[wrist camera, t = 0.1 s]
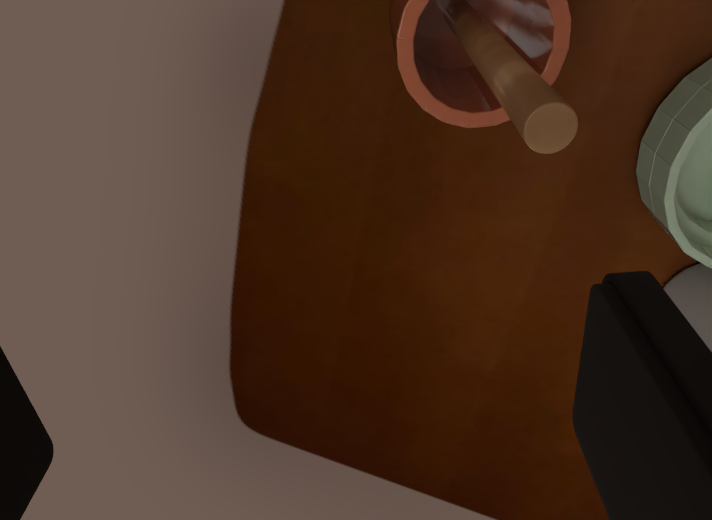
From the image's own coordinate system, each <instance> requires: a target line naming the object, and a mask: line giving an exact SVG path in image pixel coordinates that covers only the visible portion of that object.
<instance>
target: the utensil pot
mask: <svg viewBox="0 0 712 520" xmlns="http://www.w3.org/2000/svg"><path fill="white" fill-rule="evenodd" d="M451 1H452V0H391V1H390V9H389V14H390V30H391V35H392V40H393V45H394V50H395V55H396V59H397V64H398V68H399V71H400V74H401V76H402V79H403V81H404V84H405V87H406V89H407V90H408V92H409V94H410V95H411V96H412V97H413V98H414V100H415V101H416V102H417V103H418V104H419V106H420V107H421V108H422V109H423V110H424V111H426V112H427V113H429V114H431V115H432V116H434V117H436V118H437V119H439V120H441V121H442V122H445V123H447V124H452V125H456V126H461V127H465V128H468V127H469V128H475V127H487V126H493V125H494V126H496V125H498V124H501V123H503V122H506V121H508V120H511V119H510V118H509V116H508V115H507V113H506V112H505V110H504V109H503V107H502V106H501V104H500V103H499V101H498V100H497V98H496V97H495V95H494V94H493V92H492V91H491V89H490V87H489V86H488V84H487V83H486V81H485V80H484V78H483V77H482V75H481V74H480V72H479V71H478V69H477V68H476V66H475V65H474V63H473V62H472V60H471V59H470V57H469V56H468V54H467V53H466V51H465V49H464V48H463V46H462V45H461V43H460V42H459V40H458V39H457V37H456V36H455V34H454V33H453V31H452V30H451V28H450V27H449V25H448V24H447V22H446V20H445V17H444V12H445V8H446V6H447V5H448V3H449V2H451ZM466 1H467V2H468V3H469V4H470V5H471V6H472V7H473V8H474V9H475V10H476V11H477V12H478V13H479V14H480V15H481V16H482V17H483V18H484V19H485V20H486V21H487V22H488V23H489V24H490V25H491V26H492V27H493V28H494V29H495V30H496V31H497V32H498V33H499V34H500V35H501V36H502V37H503V38H504V39H505V40H506V41H507V42H508V43H509V44H510V45H511V46H512V48H513V49H514V50H515V51H516V52H517V53H518V54H519V55H520V56H521V57H522V58H523V59H524V60H525V61H526V62H527V63H528V64H529V65H530V66H531V67H532V68H533V69H534V70H535V71H536V72H537V73H538V74H539V75H540V76H541V77H542V78H543V79H544V80H545V81H546V82H547V83H548V84H549V85H550V86H551V85H552V84H553V83H554V81H555V80H556V79H557V76H558V75H559V73H560V71H561V68H562V66H563V63H564V61H565V58H566V56H567V53H568V50H569V44H570V34H571V21H572V20H571V15H570V11H569V6H568V2H567V0H466Z"/></svg>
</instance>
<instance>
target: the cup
mask: <svg viewBox="0 0 712 520" xmlns="http://www.w3.org/2000/svg"><path fill="white" fill-rule="evenodd" d="M663 289H664V290H665V292H666V293H667V294H668V296H669V297H670V298H671V299H672V301H673V302H674V303H675V305H676V306H677V307H678V309H679V310H680V311H681V313H682V314H683V315H684V316H685V318H686V319H687V320H688V322H689V323H690V324H691V326H692V327H693V328H694V330H695V331H696V332H697V334H698V335H699V336H700V337H701V339H702V340H703V341H704V343H705V344H706V345H707V347H708V348H709V349H710V351H711V352H712V268H709V267H707V266H705V265H703V264H702V263H699V264H696V265H693V266H691V267H688V268H686V269H684V270H683V271H681V272H679V273H678V274H676V275H675V276H674V277H673V278H672V279H671V280H670V281H668V282H667V283H666V285H665V286H664V288H663Z"/></svg>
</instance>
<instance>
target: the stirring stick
mask: <svg viewBox="0 0 712 520" xmlns="http://www.w3.org/2000/svg"><path fill="white" fill-rule="evenodd" d="M444 17H445V20H446V22H447V24H448V25H449V27H450V28H451V30H452V31H453V33H454V34H455V36H456V37H457V39H458V40H459V42H460V43H461V45H462V46H463V48H464V49H465V51H466V53H467V54H468V56H469V57H470V59H471V60H472V62H473V63H474V65H475V66H476V68H477V69H478V71H479V72H480V74H481V75H482V77H483V78H484V80H485V81H486V83H487V84H488V86H489V87H490V89H491V91H492V92H493V94H494V95H495V97H496V98H497V100H498V101H499V103H500V104H501V106H502V107H503V109H504V110H505V112H506V113H507V115H508V116H509V118H510V119H511V121H512V122H513V124H514V126H515V127H516V129H517V130H518V132H519V133H520V135H521V136H522V138H523V139H524V141H525V142H526V144H527V145H528V146H529V147H530V148H531V149H532V150H534V151H535V152H538V153H542V154H550V153H555V152H558V151H560V150H562V149H563V148H565V147H566V146H567V145H568V144H569V143H570V142H571V141H572V140H573V138H574V137H575V134H576V132H577V128H578V119H577V115H576V113H575V111H574V110H573V109H572V108H571V107H570V106H569V105H568V104H567V103H566V102H565V101H564V100H563V99H562V98H561V96H560V95H559V94H558V93H557V92H556V91H555V90H554V89H553V88H552V87H551V86H550V85H549V84H548V83H547V82H546V81H545V80H544V79H543V78H542V77H541V76H540V75H539V74H538V73H537V72H536V71H535V70H534V69H533V68H532V67H531V66H530V65H529V64H528V63H527V62H526V61H525V60H524V59H523V58H522V57H521V56H520V55H519V54H518V53H517V52H516V51H515V50H514V49H513V48H512V46H511V45H510V44H509V43H508V42H507V41H506V40H505V39H504V38H503V37H502V36H501V35H500V34H499V33H498V32H497V31H496V30H495V29H494V28H493V27H492V26H491V25H490V24H489V23H488V22H487V21H486V20H485V19H484V18H483V17H482V16H481V15H480V14H479V13H478V12H477V11H476V10H475V9H474V8H473V7H472V6H471V5H470V4H469V3H468V2H467V1H466V0H452V1H451V2H449V3H448V5H447V6H446V8H445V12H444Z"/></svg>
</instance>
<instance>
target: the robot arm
mask: <svg viewBox="0 0 712 520" xmlns="http://www.w3.org/2000/svg"><path fill="white" fill-rule="evenodd" d="M573 424H574V429H575V433H576V436H577V439H578V441H579V444H580V446H581V449H582V451H583V454H584V456H585V459H586V461H587V464H588V466H589V469H590V471H591V474H592V477H593V479H594V482H595V484H596V487H597V489H598V492H599V494H600V497H601V499H602V502H603V504H604V507H605V509H606V512H607V514H608V517H609V520H712V352H711V351H710V349H709V348H708V347H707V345H706V344H705V343H704V341H703V340H702V339H701V337H700V336H699V335H698V334H697V332H696V331H695V330H694V328H693V327H692V326H691V324H690V323H689V322H688V320H687V319H686V318H685V316H684V315H683V314H682V313H681V311H680V310H679V309H678V307H677V306H676V305H675V303H674V302H673V301H672V299H671V298H670V297H669V296H668V294H667V293H666V292H665V290H664V289H663V288H662V286H661V285H660V284H659V282H658V281H657V280H656V278H655V277H654V276H653V275H652V274H651V273H650V272H647V271H638V272H624V273H610V274H607V275H605V277H604V279H603V282H602V284H595V285H593V286H592V288H591V291H590V296H589V303H588V310H587V317H586V324H585V331H584V337H583V344H582V351H581V358H580V365H579V372H578V378H577V385H576V392H575V399H574V406H573ZM52 458H53V444H52V441H51V439H50V437H49V435H48V433H47V431H46V430H45V428H44V426H43V424H42V422H41V420H40V418H39V417H38V415H37V413H36V411H35V409H34V407H33V406H32V404H31V402H30V400H29V398H28V396H27V395H26V393H25V391H24V389H23V387H22V386H21V384H20V382H19V380H18V378H17V376H16V374H15V373H14V371H13V369H12V367H11V365H10V363H9V361H8V360H7V358H6V356H5V354H4V352H3V350H2V349H1V347H0V520H20V519H21V517H22V515H23V513H24V512H25V510H26V508H27V506H28V504H29V502H30V500H31V499H32V497H33V495H34V493H35V492H36V490H37V488H38V486H39V484H40V482H41V481H42V479H43V477H44V475H45V473H46V471H47V470H48V468H49V466H50V464H51V461H52Z"/></svg>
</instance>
